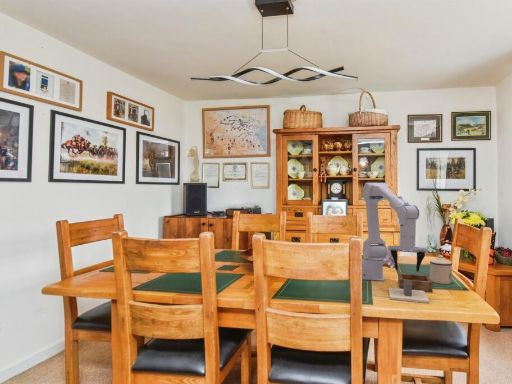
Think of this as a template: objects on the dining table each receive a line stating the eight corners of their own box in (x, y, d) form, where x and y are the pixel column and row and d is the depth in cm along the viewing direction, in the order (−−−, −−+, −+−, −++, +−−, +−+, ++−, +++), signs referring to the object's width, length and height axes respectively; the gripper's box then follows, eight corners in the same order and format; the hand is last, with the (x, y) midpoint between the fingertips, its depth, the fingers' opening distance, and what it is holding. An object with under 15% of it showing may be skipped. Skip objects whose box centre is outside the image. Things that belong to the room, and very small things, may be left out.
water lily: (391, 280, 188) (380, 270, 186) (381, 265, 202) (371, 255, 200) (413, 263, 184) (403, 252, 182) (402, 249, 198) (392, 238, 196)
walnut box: (400, 289, 147) (400, 279, 147) (398, 282, 159) (398, 273, 159) (432, 292, 144) (432, 282, 144) (428, 284, 155) (428, 275, 155)
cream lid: (390, 300, 134) (390, 285, 134) (388, 290, 147) (388, 277, 147) (428, 304, 130) (429, 288, 130) (423, 293, 143) (424, 279, 143)
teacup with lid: (454, 285, 155) (455, 258, 155) (431, 283, 157) (432, 257, 157) (446, 278, 167) (447, 253, 166) (425, 276, 169) (426, 252, 169)
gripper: (388, 236, 140) (387, 271, 140) (429, 238, 135) (428, 274, 136) (387, 234, 146) (387, 267, 147) (426, 236, 142) (425, 270, 142)
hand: (406, 270), depth 142 cm, fingers open, 7 cm apart
